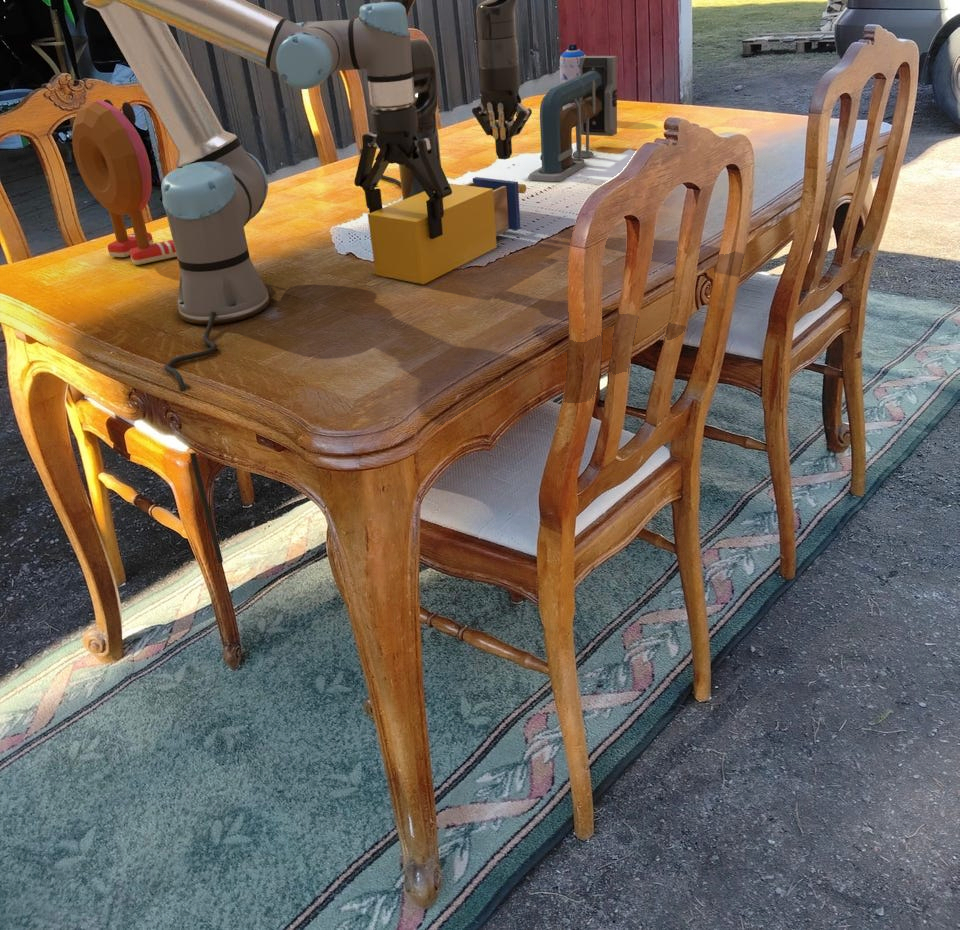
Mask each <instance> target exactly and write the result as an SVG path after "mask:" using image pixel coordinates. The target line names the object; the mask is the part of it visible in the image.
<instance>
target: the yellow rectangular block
mask: <svg viewBox="0 0 960 930" xmlns="http://www.w3.org/2000/svg"><path fill="white" fill-rule="evenodd" d="M448 183H449V185H450V187H451V189H452V194H451V195H449V196H446V197H444V198H443V209H444V216H443V217H442V218H441V219H442V230H443V235H441V236H439V237H437V238H434V239H430V236H429V225H428V215H427V204H426V201H427V200H429V199H430V198H429V197H428V195H427V194H426V192H425V191H424V192H421V193H419V194H417V195H414V196H412V197H409V198H407V199H404V200H402V199H401V200H400V201H399V200H398V201H397V202H395V203H392V204H389V205H387V206H384V207H383V208H382V209H379V210H377V211H374V212H372V213H370V212H369V213H367V219H368V220H367V221H368V228H369V236H370V243H371V249H372V257H373V264H374V273H375V276H379V277H383V278H384V277H385V278H389V279H394V280H400V281H405V282H409V283H415V284H419V285H425V284H427V283H429V282H431V281H433V280H436V279H437V278H439V277H442V276H443V275H445V274H448V273H449V272H451V271H453V270H455V269H457V268H459V267H461V266H463V265H465V264H467V263H469V262H471V261H473V260H475V259H477V258H479V257H481V256H483V255H485V254H486V253H489V252H491V251H493V250H495V249H496V248H498V245H497V244H498V243H497V236H496V229H495V214H494V199H493V189H491V188H482V187H474V186H466V184H457V183H450V182H448ZM434 193H435V192H434Z"/></svg>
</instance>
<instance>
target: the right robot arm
mask: <svg viewBox="0 0 960 930" xmlns="http://www.w3.org/2000/svg"><path fill="white" fill-rule="evenodd" d="M380 2H398V3H401V4H402V5H403V6H404V7H405V9H406V14H407V20H408V19H409V15H410V12H411V10H412V8H413V5H414V3H415V2H416V0H380ZM517 2H518V0H484V1H482V2H481V3H479V4H478V5H477V7H476V13H475V14H476V32H477V64H478V78H479V79H478V80H479V89H480V91H481V96H480V102H479V104H478V105H477V106H475V107H473V108H472V109H471V112H472V114H473V116H474V118H475V119H476V121H477V122H478V124H479V125H480V127H481V128H482V130H483V132H484V133H485V134H486V135H487V136H491V137H492V138H493V139H494V143H495V154H496V156H497V159H499V160H508V159H510V158H511V156H512V154H513V145H512V143H513V142H512V140H513V139H512V138H514V137H516V136H519V135H520V133H521V132H522V130H523V128H524V127H525V125H526V124H527V122H528V120H529V119H530V117H531V115H532V114H533V110H532V109H531V108H530V107H528V108H526V107H525V106H524V105H523V104H522V98H521V95H520V93H519V91H520V87H521V79H520V77H521V76H520V62H519V61H520V57H519V47H518V40H517V28H516V27H517V26H516V6H517ZM410 45H411V58H412V70H413V71H412V72H413V81H414V92H415V101H414V102H413V103H412V104H413V105H414V106H415V107H416V111H417V121H418V127H417V129H416V136H417V138H418V139H425V138H428V137H431V138H432V140H433V146H434V151H435V154H436V156H437V158H438V160H439V163H440V165H441V166H442V159H441V149H440V147H441V146H440V140H439V139H440V138H439V129H438V118H437V116H438V115H437V111H438V108H439V107H438V106H439V95H438V71H437V70H438V69H437V61H436V56H435V55H436V54H435V52H434V49H433V47H432V45H431V44H430V42H428V40H426V39H425V38H421V37H420V38H410ZM417 149H418V148H417ZM361 152H362V148H359V153H360V154H361ZM419 154H420V153H419ZM412 160H414V158H413V159H412ZM398 169H399V171H398V172H399V178H400V180H398V179H396V178H393V177H390V176H387V175H384V174H383V175H382V177H381V179H382V180H384V181H387V182H388V181H389V182H391V183H394V184H396V185H398V187H399V188H400V189H401V195H402V196H401V197H402V198H401V201H402V200H404V199H407V198H409V197H412V196H414V195H417V194H419V193H421V192H424V189H423V188H422V186H421V185H420V183H419V182H418V180H417V179H416V177H415V176H414V175H413V173H412V172H411V170H410V169H408V168H406V166H405V165H399V164H398Z"/></svg>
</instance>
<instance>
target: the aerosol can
mask: <svg viewBox="0 0 960 930" xmlns="http://www.w3.org/2000/svg"><path fill="white" fill-rule="evenodd" d="M583 56H587V55H586V54H585V52H584V51H583V50H581V49H579V48H578V44H577V43H574V44H568V48H567V49H566V50H565V51H563V52H562V53H561V55H560V56H559V79H560V81H559V83H560V84H559V85H561V84H563V83H565V82H567V81H569V80H572V79H574V78H576V77H578V76H580V58H581V57H583ZM573 105H575V103H569V104H567V105H565V106H563V110H565V109H567V108H569V107H571V106H573Z"/></svg>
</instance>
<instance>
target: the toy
mask: <svg viewBox="0 0 960 930" xmlns="http://www.w3.org/2000/svg"><path fill="white" fill-rule="evenodd" d="M121 109H122V111H121V110H120V109H118V108H117V107H115V106H114V104H113V103H112V101H111V100H110V99H108V98H106V99H104V100H100V99H97V100H95V101H93V102H91V103H88V104H86V105H85V106H83V107H81V108H80V109H78V110H77V111H76V114H75V116H74V117H75V118H74V120H73V124H72V130H71V140H72V142H71V143H72V152H73V156H74V160H75V163H76V167H77V170H78V172H79V174H80V176H81V178H82V181H83V182H84V184H85V186H86V188H87V189H88V191H89V192H90V193H91V195H92V196H93V197H94V198H95V199H96V201H97V202H99V203H100V205H101V206H102V207H103V208H105V209H107V211H108V214H109V217H110V221H111V225H112V228H113V233H114V236H115V239H116V240H114V241H112V242H110V243H108V245H107V251H108V255H109V256H110V257H113V258H127V257H129V256H130V260H131V262H132V263H133V264H135V266H137V265H144V264H150V263H154V262H159V261H162V260H163V261H164V260H167V259H172V258H177V255H176V251H175V247H174V243H173V239H170V240H165V241H160V242H156V243H154V237H153V235H152V233H151V232H148V231H147V226H146V225H147V224H146V222H145V218H144V214H143V212H142V211H143V210H144V209H145V208H146V206H147V205H148V203H149V201H150V198H151V194H152V189H153V188H152V168H151V163H150V159H149V155H148V152H147V150H146V146H145V144H144V142H143V140H142V137H141V136H140V134H139V132H138V131H137V129H136V127H135V126H134V125H135V124H136V120H137V119H136V113H135V110H134V108H133V106H132V104H131V103H130V102H128V101H125V102H123V103H122V107H121ZM127 215H128V216H129V218H130V221H131V226H132V230H133V232H132V233H130V234H128V232H127V227H126V223H125V218H124V216H127Z"/></svg>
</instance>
